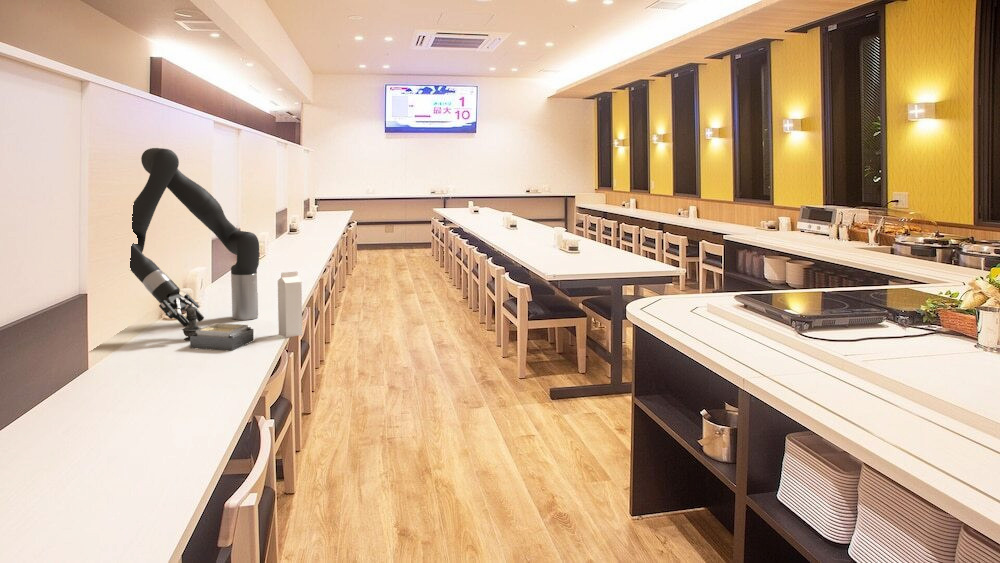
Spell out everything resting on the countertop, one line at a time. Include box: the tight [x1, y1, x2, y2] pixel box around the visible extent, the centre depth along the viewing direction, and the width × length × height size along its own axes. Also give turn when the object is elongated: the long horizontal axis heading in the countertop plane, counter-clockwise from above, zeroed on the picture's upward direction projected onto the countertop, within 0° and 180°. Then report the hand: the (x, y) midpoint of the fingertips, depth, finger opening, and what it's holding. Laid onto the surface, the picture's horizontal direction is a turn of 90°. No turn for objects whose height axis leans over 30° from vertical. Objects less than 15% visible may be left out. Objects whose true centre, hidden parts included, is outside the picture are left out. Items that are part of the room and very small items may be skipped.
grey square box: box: [189, 322, 254, 352], centre depth 221 cm, size 14×14×6 cm
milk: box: [277, 271, 303, 338], centre depth 236 cm, size 6×6×22 cm
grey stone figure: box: [181, 303, 202, 342], centre depth 226 cm, size 6×6×12 cm
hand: (195, 322), depth 226 cm, fingers open, 8 cm apart
